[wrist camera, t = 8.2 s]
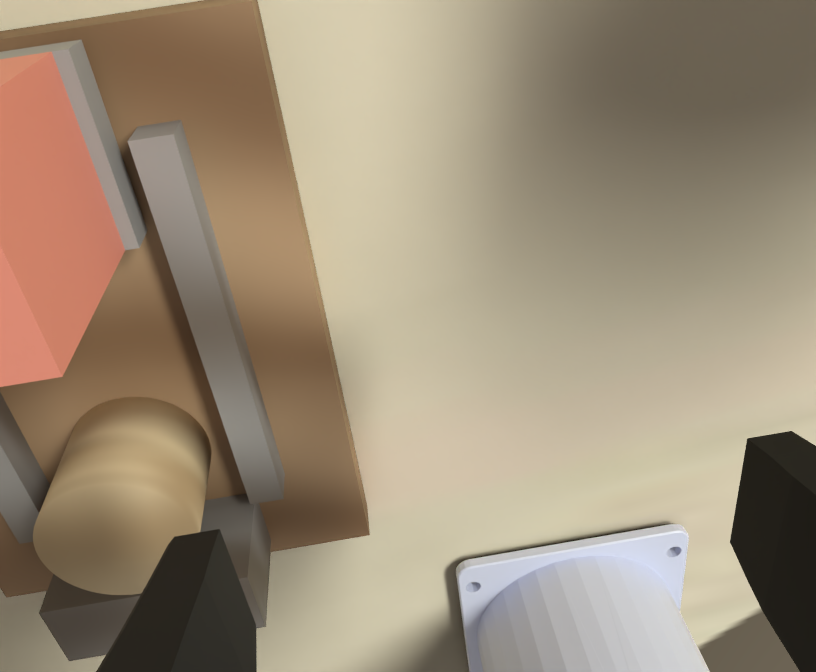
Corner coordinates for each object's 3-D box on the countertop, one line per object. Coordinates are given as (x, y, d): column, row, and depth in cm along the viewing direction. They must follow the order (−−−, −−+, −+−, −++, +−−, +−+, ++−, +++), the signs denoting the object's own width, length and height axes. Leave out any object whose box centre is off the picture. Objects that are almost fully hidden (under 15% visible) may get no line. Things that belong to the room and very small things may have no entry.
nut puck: (226, 488, 21) (215, 579, 18) (97, 510, 20) (67, 606, 18) (190, 385, 19) (172, 470, 16) (48, 410, 19) (6, 500, 16)
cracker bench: (367, 506, 23) (377, 619, 20) (20, 565, 23) (-34, 691, 19) (255, -8, 15) (238, 28, 12) (-283, 74, 15) (-469, 137, 11)
